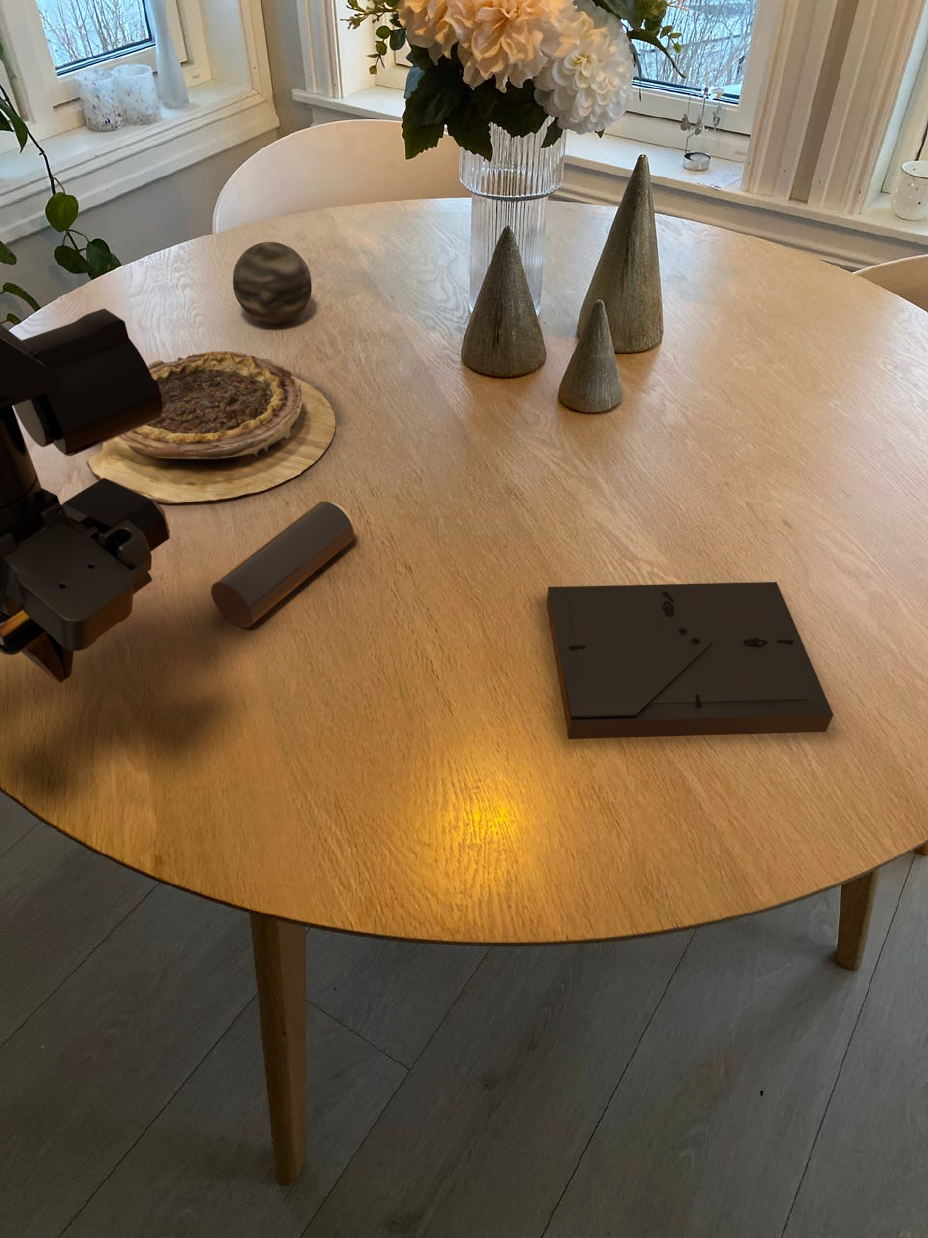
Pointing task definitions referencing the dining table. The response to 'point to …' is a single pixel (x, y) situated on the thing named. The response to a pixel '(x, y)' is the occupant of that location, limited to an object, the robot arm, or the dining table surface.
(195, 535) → the dining table surface
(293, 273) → the decorative stone
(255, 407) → the pie
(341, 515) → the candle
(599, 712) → the picture frame
